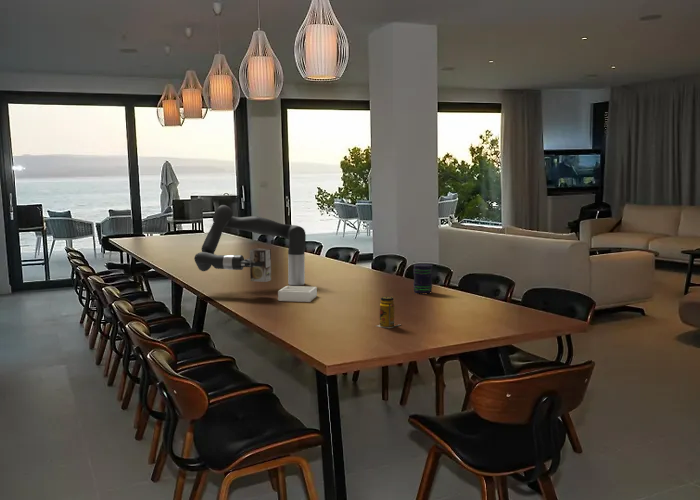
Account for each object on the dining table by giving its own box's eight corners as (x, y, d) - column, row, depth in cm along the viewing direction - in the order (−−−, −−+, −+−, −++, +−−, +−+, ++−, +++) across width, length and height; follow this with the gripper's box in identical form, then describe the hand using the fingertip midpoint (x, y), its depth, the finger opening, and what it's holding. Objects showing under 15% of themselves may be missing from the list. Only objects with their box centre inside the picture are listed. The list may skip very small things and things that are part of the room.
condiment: (375, 326, 270) (375, 297, 269) (387, 322, 277) (387, 294, 275) (389, 329, 266) (389, 299, 264) (401, 325, 272) (402, 296, 271)
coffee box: (271, 280, 336) (271, 248, 334) (266, 282, 330) (265, 250, 328) (255, 279, 339) (255, 248, 337) (249, 281, 333) (249, 249, 331)
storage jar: (434, 292, 351) (434, 264, 349) (428, 295, 342) (429, 266, 340) (416, 290, 355) (417, 263, 353) (410, 293, 346) (410, 265, 344)
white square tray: (286, 295, 339) (286, 285, 339) (316, 296, 337) (316, 286, 336) (278, 300, 324) (278, 291, 323) (309, 301, 321) (309, 292, 321)
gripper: (228, 256, 328) (260, 257, 326) (237, 253, 342) (268, 254, 340) (228, 271, 329) (260, 272, 327) (238, 267, 343) (268, 268, 341)
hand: (264, 263), depth 333 cm, fingers closed on coffee box, 7 cm apart
